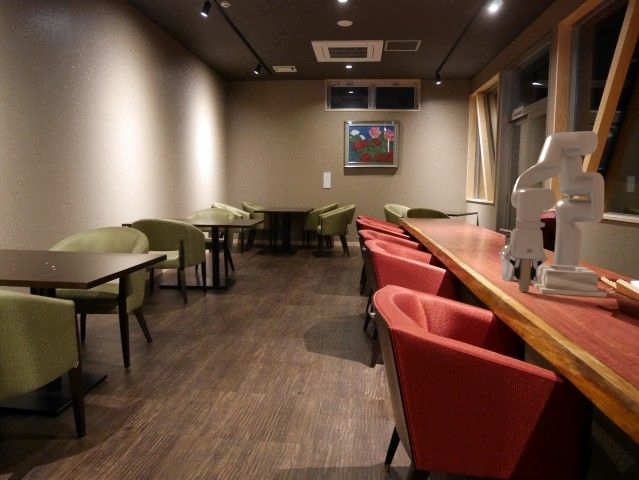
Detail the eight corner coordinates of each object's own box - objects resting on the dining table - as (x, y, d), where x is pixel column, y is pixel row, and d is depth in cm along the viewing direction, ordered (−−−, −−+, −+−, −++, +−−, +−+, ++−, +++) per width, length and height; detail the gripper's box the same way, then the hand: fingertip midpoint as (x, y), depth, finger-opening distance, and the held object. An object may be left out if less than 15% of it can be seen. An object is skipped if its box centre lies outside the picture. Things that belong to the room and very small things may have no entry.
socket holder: (527, 281, 186) (528, 262, 186) (584, 284, 182) (585, 265, 182) (541, 293, 165) (543, 272, 164) (606, 297, 161) (608, 275, 160)
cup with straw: (521, 282, 183) (524, 229, 181) (495, 280, 186) (498, 228, 184) (519, 278, 191) (523, 227, 189) (495, 276, 194) (498, 226, 192)
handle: (533, 293, 163) (536, 249, 161) (513, 291, 165) (516, 247, 164) (533, 290, 167) (536, 247, 165) (513, 288, 170) (516, 246, 168)
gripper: (551, 225, 166) (547, 278, 168) (499, 224, 169) (496, 275, 171) (557, 227, 158) (553, 282, 161) (503, 226, 162) (500, 280, 164)
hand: (524, 278), depth 166 cm, fingers closed on handle, 4 cm apart
